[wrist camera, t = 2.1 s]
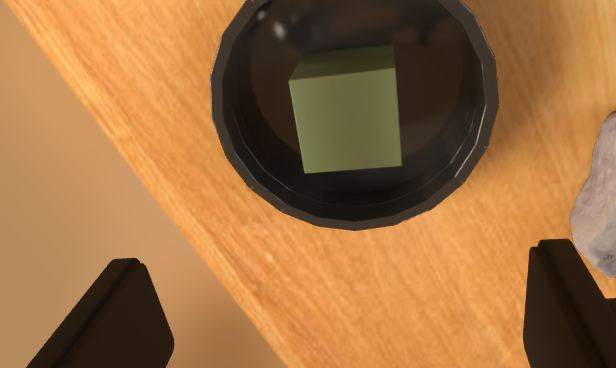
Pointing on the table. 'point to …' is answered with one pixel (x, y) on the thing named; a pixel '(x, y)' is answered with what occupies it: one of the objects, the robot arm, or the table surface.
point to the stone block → (598, 204)
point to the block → (347, 109)
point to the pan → (411, 104)
